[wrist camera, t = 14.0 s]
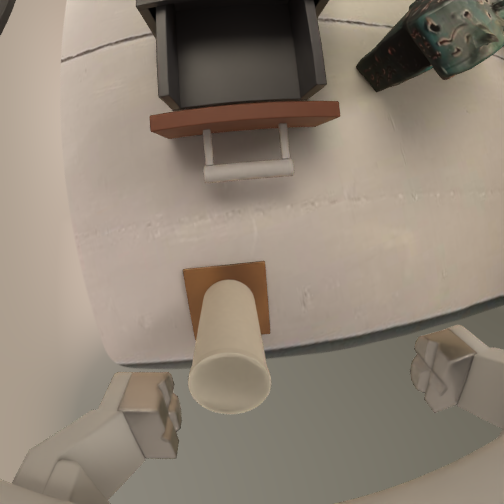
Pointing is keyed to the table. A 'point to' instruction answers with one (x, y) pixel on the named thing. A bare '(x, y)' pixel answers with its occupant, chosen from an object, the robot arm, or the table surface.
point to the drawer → (240, 75)
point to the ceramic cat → (436, 41)
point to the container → (229, 352)
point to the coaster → (243, 272)
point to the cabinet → (148, 3)
